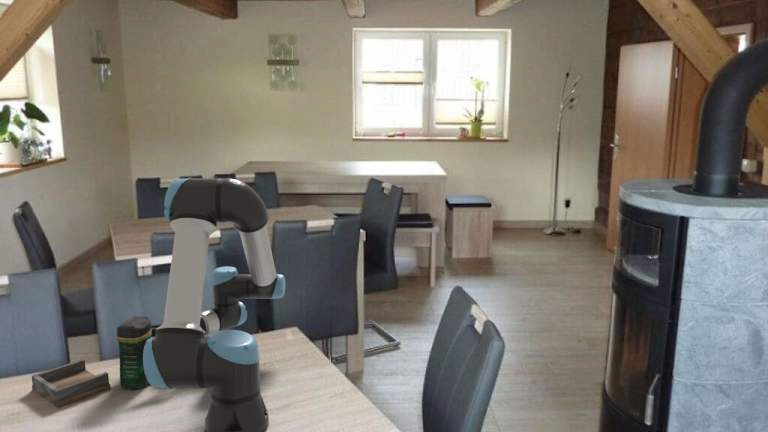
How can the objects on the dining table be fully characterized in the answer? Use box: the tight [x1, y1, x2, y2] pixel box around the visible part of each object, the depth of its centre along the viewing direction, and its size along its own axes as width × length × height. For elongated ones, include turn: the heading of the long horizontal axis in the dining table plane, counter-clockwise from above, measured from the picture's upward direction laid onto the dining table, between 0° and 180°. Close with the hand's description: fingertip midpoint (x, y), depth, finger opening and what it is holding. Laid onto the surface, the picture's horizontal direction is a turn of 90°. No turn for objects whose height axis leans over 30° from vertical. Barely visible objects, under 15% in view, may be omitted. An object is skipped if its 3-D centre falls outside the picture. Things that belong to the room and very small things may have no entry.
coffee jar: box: [116, 315, 152, 390], centre depth 179 cm, size 10×8×19 cm
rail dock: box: [31, 358, 112, 409], centre depth 176 cm, size 16×14×4 cm
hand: (134, 347), depth 179 cm, fingers open, 13 cm apart
